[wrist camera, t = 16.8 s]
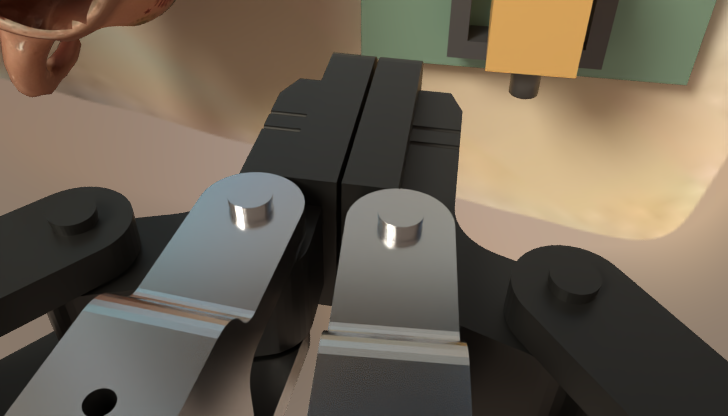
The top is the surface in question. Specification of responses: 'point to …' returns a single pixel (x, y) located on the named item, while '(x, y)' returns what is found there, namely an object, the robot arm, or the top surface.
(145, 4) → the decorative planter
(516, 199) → the top surface
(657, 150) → the top surface
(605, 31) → the board
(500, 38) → the keyed plug
